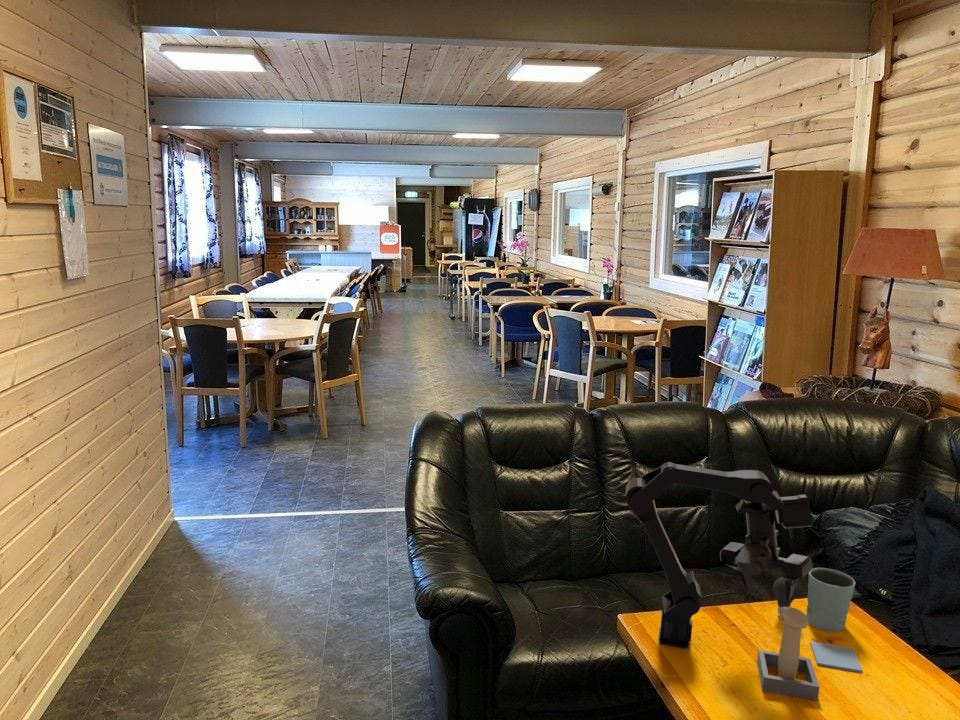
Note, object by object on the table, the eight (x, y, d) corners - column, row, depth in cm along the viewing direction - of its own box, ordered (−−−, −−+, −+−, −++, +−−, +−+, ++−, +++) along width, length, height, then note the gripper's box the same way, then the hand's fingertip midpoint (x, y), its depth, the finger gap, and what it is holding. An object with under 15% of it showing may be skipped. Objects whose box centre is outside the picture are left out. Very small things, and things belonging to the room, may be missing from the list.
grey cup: (795, 612, 181) (800, 567, 179) (833, 611, 182) (839, 567, 180) (818, 634, 171) (824, 587, 169) (858, 633, 172) (864, 586, 170)
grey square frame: (762, 690, 149) (763, 677, 148) (757, 662, 159) (758, 649, 158) (817, 700, 146) (819, 687, 146) (808, 671, 156) (810, 658, 156)
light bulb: (796, 623, 176) (801, 584, 174) (772, 620, 177) (776, 581, 175) (791, 611, 181) (796, 574, 180) (768, 608, 183) (772, 571, 181)
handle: (782, 690, 149) (790, 622, 147) (767, 671, 155) (775, 606, 153) (805, 690, 149) (813, 622, 147) (789, 671, 156) (797, 606, 153)
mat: (817, 664, 159) (817, 662, 159) (810, 643, 167) (810, 641, 167) (862, 672, 156) (862, 670, 156) (852, 650, 165) (853, 648, 165)
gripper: (703, 534, 160) (711, 600, 162) (787, 551, 147) (794, 622, 149) (728, 517, 168) (735, 580, 170) (810, 531, 154) (816, 599, 156)
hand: (768, 595), depth 161 cm, fingers open, 9 cm apart
